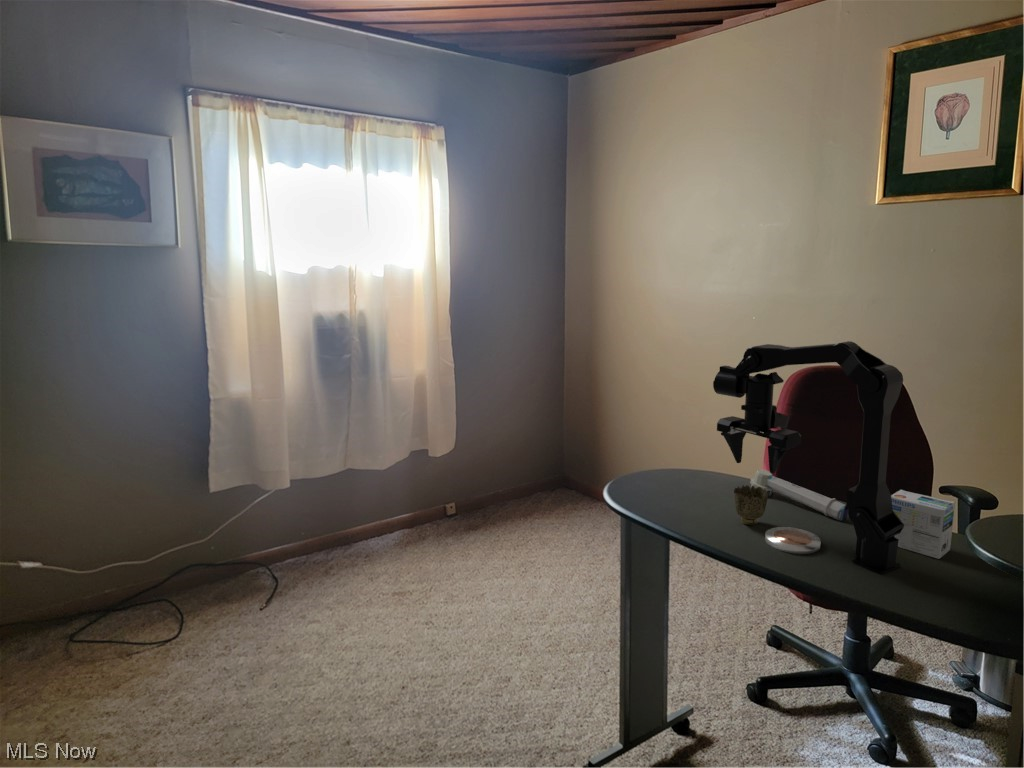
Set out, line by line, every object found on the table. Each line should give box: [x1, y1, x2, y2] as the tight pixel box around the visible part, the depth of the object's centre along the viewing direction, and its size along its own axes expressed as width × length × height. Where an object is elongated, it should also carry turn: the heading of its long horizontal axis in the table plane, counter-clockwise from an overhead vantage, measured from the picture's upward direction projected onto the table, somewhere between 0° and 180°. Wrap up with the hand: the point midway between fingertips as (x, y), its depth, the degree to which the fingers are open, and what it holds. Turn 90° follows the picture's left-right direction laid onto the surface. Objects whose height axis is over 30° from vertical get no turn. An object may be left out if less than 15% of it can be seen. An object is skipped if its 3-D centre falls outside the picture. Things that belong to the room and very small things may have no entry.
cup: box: [733, 484, 769, 526], centre depth 152 cm, size 8×7×8 cm
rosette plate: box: [764, 526, 821, 555], centre depth 143 cm, size 11×11×1 cm
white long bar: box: [749, 469, 848, 521], centre depth 164 cm, size 5×7×25 cm
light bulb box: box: [891, 489, 956, 560], centre depth 139 cm, size 11×7×11 cm, turn 41°
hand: (755, 467), depth 151 cm, fingers open, 9 cm apart
